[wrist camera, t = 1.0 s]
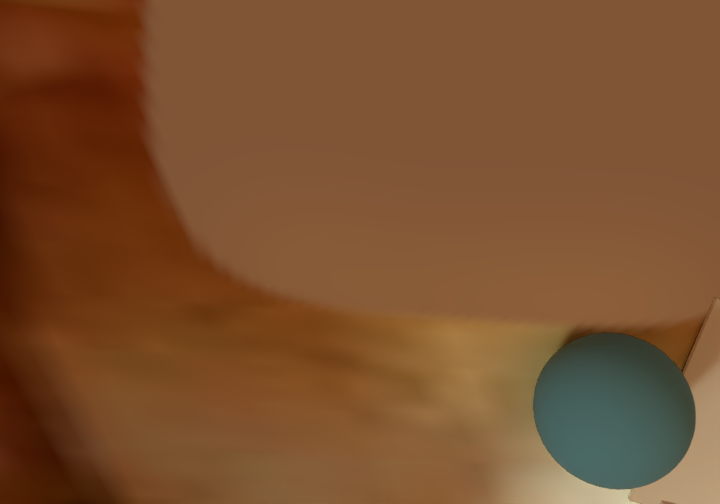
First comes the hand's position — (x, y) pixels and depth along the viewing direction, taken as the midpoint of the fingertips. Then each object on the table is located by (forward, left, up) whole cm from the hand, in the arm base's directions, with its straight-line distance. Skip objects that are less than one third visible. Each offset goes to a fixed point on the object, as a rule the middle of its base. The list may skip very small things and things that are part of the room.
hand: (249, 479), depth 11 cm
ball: (-2, -13, -15) cm, 20 cm away
